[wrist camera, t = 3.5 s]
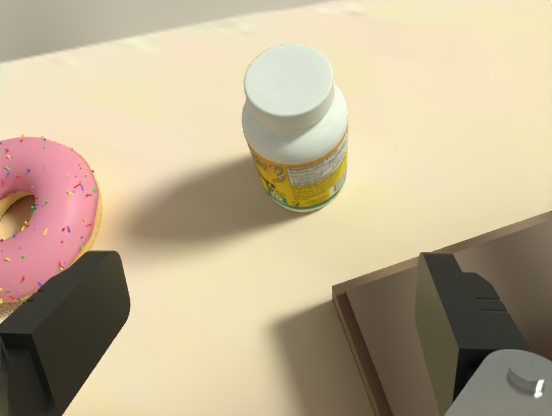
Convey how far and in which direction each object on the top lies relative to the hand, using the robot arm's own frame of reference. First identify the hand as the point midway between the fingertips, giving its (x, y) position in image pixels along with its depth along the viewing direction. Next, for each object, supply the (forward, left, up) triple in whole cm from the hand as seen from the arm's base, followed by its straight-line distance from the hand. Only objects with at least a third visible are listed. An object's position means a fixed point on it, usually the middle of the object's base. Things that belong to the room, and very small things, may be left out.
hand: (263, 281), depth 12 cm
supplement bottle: (-3, -9, -14) cm, 17 cm away
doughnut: (+15, -12, -14) cm, 24 cm away
